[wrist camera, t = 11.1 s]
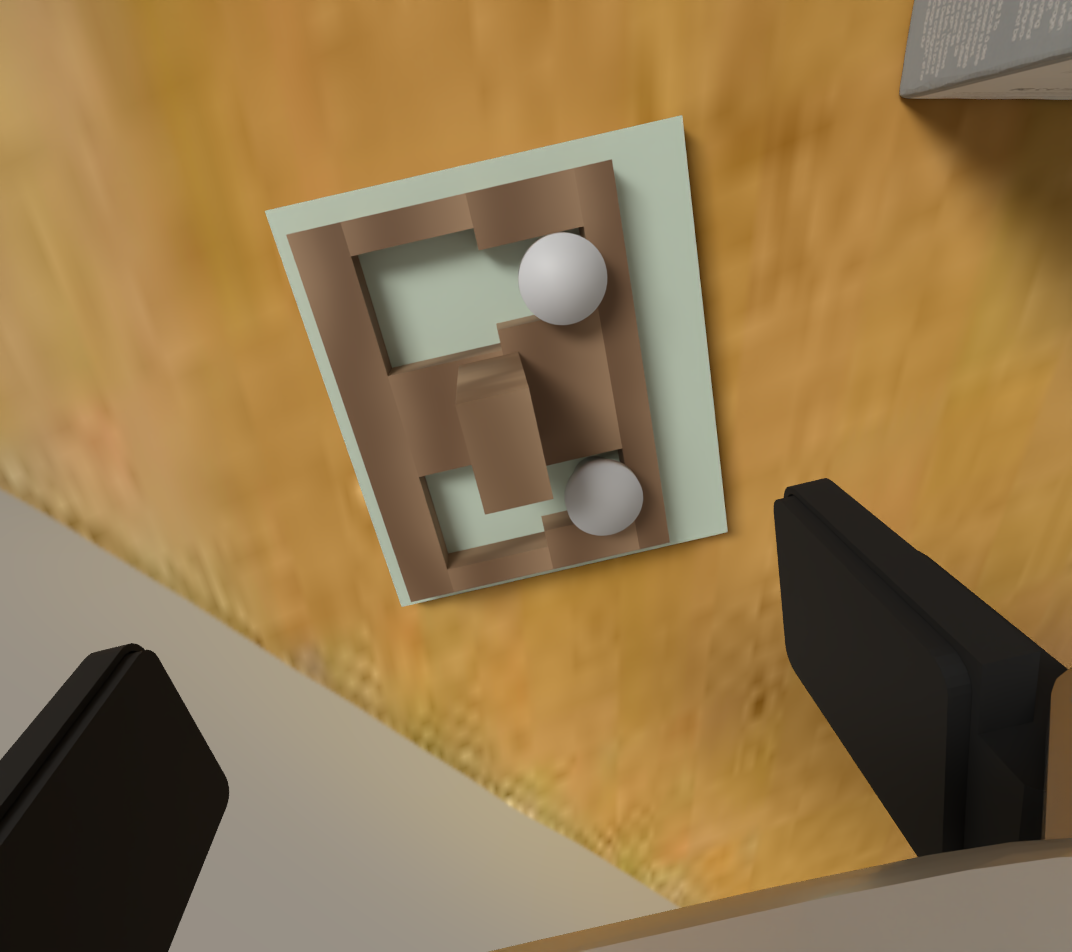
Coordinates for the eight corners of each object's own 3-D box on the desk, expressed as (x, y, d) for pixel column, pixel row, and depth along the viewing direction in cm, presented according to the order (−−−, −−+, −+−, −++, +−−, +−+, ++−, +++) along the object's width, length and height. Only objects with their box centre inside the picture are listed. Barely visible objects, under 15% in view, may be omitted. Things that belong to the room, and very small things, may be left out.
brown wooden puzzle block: (604, 161, 25) (649, 147, 19) (661, 527, 32) (709, 611, 25) (296, 232, 25) (236, 243, 19) (413, 584, 32) (398, 683, 25)
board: (673, 118, 26) (707, 105, 22) (719, 521, 33) (750, 562, 29) (273, 210, 26) (240, 212, 22) (404, 593, 33) (395, 643, 29)
